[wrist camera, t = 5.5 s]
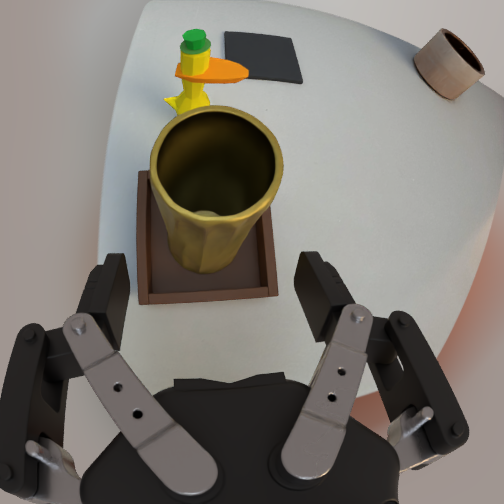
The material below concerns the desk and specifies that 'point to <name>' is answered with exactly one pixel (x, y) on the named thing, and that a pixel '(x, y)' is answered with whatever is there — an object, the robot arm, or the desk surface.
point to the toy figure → (201, 72)
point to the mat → (264, 56)
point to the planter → (448, 65)
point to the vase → (213, 183)
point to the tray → (190, 283)
